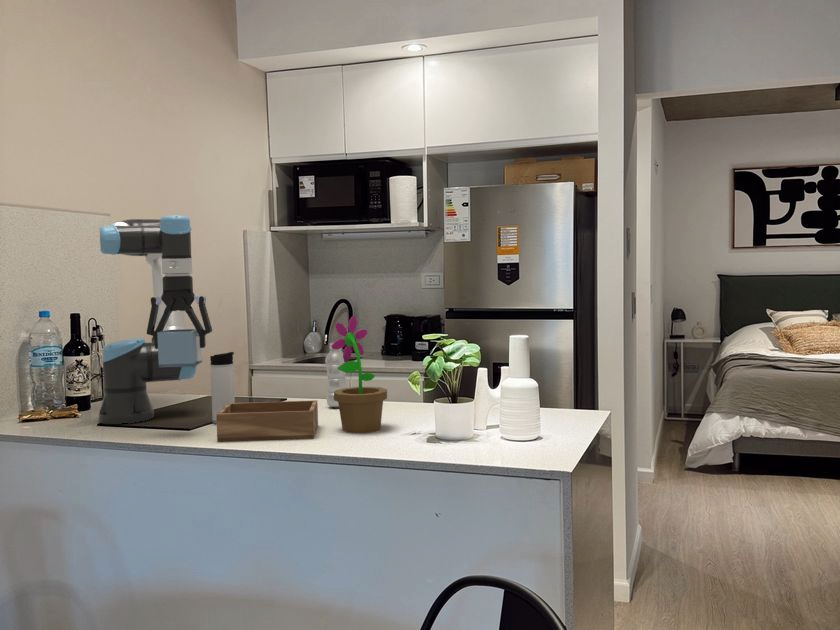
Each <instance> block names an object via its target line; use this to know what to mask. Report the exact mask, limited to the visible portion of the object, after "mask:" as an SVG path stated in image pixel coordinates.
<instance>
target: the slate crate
mask: <svg viewBox="0 0 840 630" xmlns="http://www.w3.org/2000/svg"><path fill="white" fill-rule="evenodd" d="M157 336H158V360H159V367H194V366H196V365H197V366H198V365H200V364H201V363H203V359H202V360H201V361H197V347H196V336H199V334H198V332H197V330H196V328H186V329H176V330H164V331H161V332H158V333H157ZM197 366H196V367H197Z"/></svg>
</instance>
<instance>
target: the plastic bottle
mask: <svg viewBox="0 0 840 630" xmlns="http://www.w3.org/2000/svg"><path fill="white" fill-rule="evenodd" d="M333 343H334V342H329V347H328V349H329V352H328V354H327V355H326V356H325V360H324V361H325V363H324V364H325V369H326V373H327V374H326V376H327V393H326V404H327V406H328V407H331V408H334V409H335V408H336V409H339V404H338V402H337V401H335V400H334V392H335V390H339V389H343V388H347V382H346V374H347V373H345V372H343V371H341V370H338V367H339V366H341V365H342V364H344V363H345V362H344V359H343V352H344V351H342V349H343V347H342V348H340V349H332V344H333Z"/></svg>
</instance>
